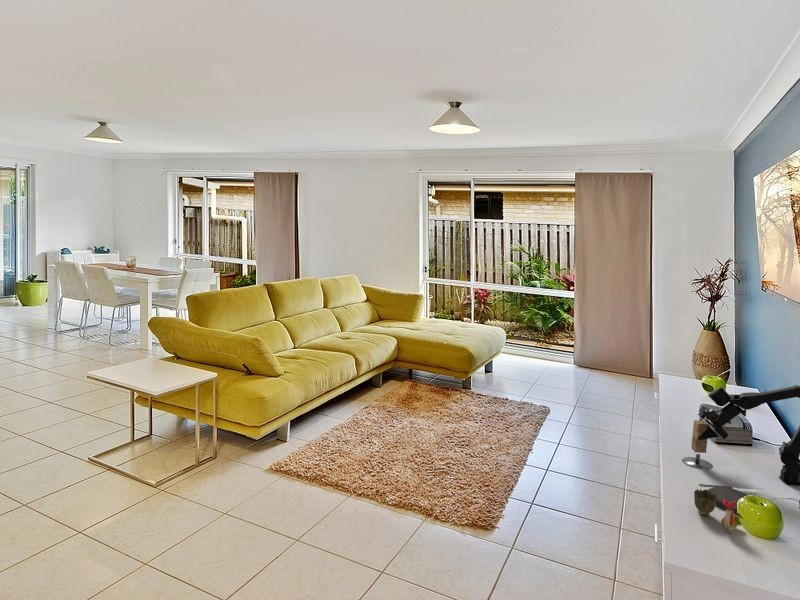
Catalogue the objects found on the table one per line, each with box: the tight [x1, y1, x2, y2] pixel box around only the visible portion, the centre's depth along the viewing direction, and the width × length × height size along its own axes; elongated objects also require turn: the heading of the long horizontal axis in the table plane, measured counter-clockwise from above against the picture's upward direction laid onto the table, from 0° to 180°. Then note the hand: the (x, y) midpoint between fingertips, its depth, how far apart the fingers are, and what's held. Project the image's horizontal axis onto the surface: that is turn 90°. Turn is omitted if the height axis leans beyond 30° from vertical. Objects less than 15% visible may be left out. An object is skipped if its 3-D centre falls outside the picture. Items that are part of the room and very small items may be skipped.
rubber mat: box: [698, 483, 733, 488], centre depth 218 cm, size 12×10×1 cm
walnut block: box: [691, 419, 709, 454], centre depth 231 cm, size 4×4×13 cm
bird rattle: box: [720, 499, 743, 534], centre depth 184 cm, size 6×11×9 cm
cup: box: [693, 488, 718, 517], centre depth 194 cm, size 8×7×8 cm
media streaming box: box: [706, 485, 748, 514], centre depth 203 cm, size 15×15×3 cm
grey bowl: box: [681, 453, 714, 471], centre depth 233 cm, size 12×12×5 cm
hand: (696, 437), depth 231 cm, fingers closed on walnut block, 4 cm apart
